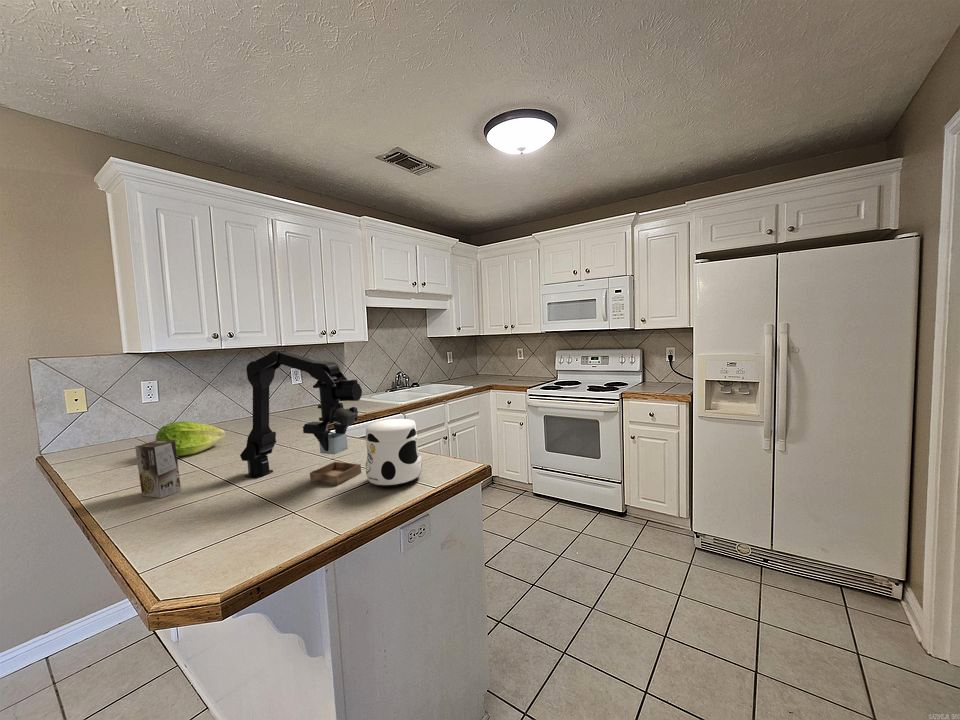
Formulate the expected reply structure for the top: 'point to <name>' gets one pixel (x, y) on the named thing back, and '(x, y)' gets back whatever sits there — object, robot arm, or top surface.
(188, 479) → the top surface
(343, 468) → the brown wooden tray
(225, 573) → the top surface
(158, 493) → the coffee box
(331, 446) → the small crate
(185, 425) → the lettuce
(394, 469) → the milk container
